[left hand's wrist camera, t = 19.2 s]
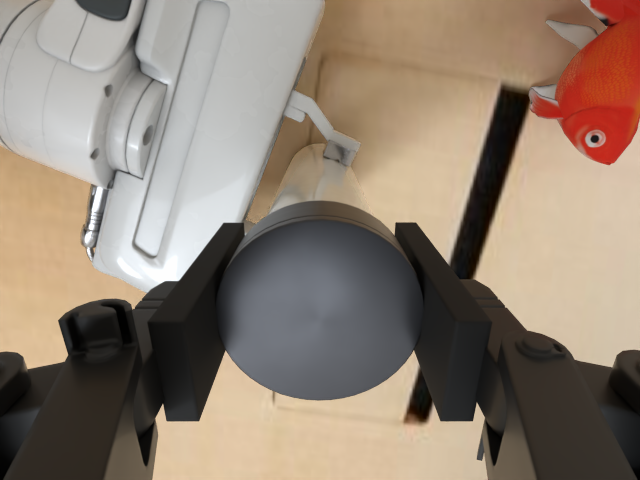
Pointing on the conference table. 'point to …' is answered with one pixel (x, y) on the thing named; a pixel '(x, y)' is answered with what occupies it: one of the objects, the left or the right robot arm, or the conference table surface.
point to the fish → (597, 82)
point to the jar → (318, 181)
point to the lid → (319, 302)
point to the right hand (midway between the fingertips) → (333, 201)
